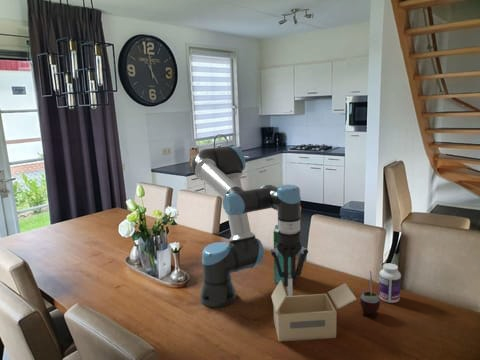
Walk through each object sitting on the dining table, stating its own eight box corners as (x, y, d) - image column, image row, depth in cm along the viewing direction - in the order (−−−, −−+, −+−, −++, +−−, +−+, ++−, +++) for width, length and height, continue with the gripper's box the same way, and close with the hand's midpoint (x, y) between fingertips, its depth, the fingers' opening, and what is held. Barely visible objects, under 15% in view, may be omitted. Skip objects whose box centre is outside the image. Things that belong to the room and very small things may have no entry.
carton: (278, 341, 124) (278, 315, 122) (273, 321, 135) (273, 297, 133) (336, 337, 124) (336, 311, 122) (326, 317, 136) (326, 293, 134)
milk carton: (294, 284, 162) (294, 231, 157) (274, 283, 164) (273, 231, 158) (295, 275, 171) (295, 225, 165) (276, 274, 172) (275, 224, 167)
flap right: (336, 308, 123) (356, 298, 122) (327, 292, 133) (345, 282, 133) (337, 309, 123) (356, 299, 123) (328, 293, 134) (345, 284, 133)
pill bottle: (399, 295, 150) (400, 263, 147) (400, 305, 142) (402, 271, 139) (378, 292, 152) (379, 260, 149) (378, 302, 145) (380, 269, 142)
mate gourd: (369, 321, 133) (370, 284, 130) (354, 310, 140) (355, 275, 137) (384, 315, 136) (386, 279, 133) (369, 305, 143) (370, 270, 140)
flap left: (272, 296, 133) (281, 280, 131) (276, 313, 122) (287, 295, 121) (270, 296, 133) (280, 279, 131) (275, 312, 122) (285, 295, 121)
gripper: (271, 235, 118) (272, 300, 123) (310, 233, 119) (310, 298, 124) (268, 228, 125) (269, 289, 130) (305, 225, 126) (305, 287, 131)
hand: (289, 293), depth 127 cm, fingers closed
